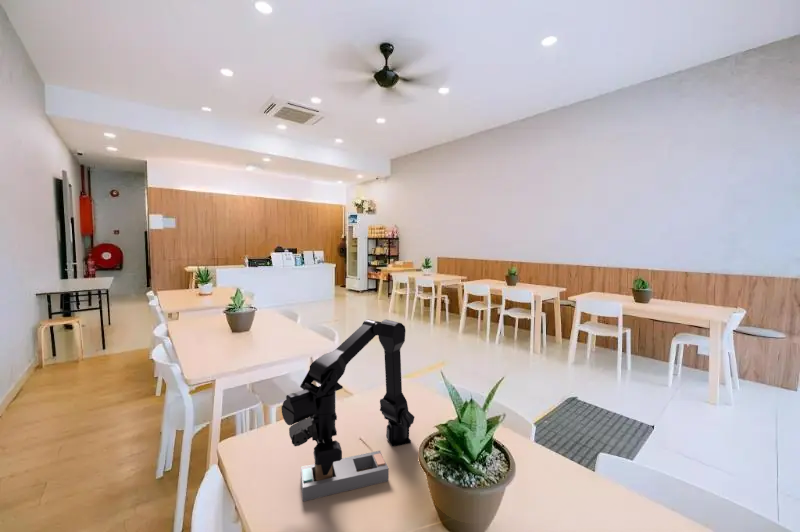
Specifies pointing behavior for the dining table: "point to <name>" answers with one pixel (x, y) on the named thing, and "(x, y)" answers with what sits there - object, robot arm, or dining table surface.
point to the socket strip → (345, 475)
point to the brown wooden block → (321, 473)
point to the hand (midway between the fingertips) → (323, 467)
